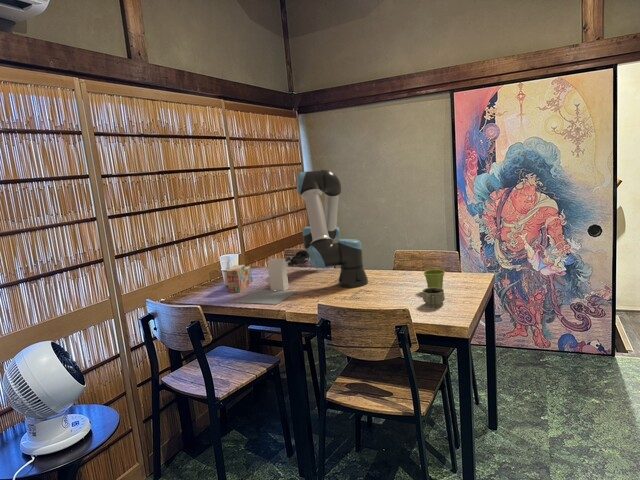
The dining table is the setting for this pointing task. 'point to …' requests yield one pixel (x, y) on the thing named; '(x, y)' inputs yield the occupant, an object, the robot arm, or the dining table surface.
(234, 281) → the multicoloured rectangular box
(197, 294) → the dining table surface
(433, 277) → the plant pot
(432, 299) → the vessel
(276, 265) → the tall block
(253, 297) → the rubber mat
